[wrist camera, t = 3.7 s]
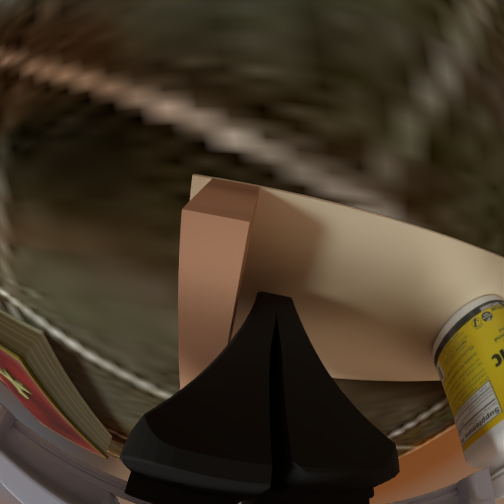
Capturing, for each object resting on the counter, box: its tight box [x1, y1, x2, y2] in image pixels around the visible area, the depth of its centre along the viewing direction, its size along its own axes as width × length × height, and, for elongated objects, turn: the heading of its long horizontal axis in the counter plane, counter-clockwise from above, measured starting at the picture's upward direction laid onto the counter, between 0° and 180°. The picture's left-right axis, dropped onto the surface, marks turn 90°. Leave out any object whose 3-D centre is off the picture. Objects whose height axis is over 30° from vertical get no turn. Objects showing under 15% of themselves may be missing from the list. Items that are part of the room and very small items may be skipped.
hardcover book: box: [0, 310, 112, 459], centre depth 19 cm, size 12×21×4 cm, turn 175°
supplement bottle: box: [432, 295, 504, 501], centre depth 7 cm, size 5×5×10 cm
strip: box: [178, 174, 504, 390], centre depth 10 cm, size 9×20×3 cm, turn 80°
